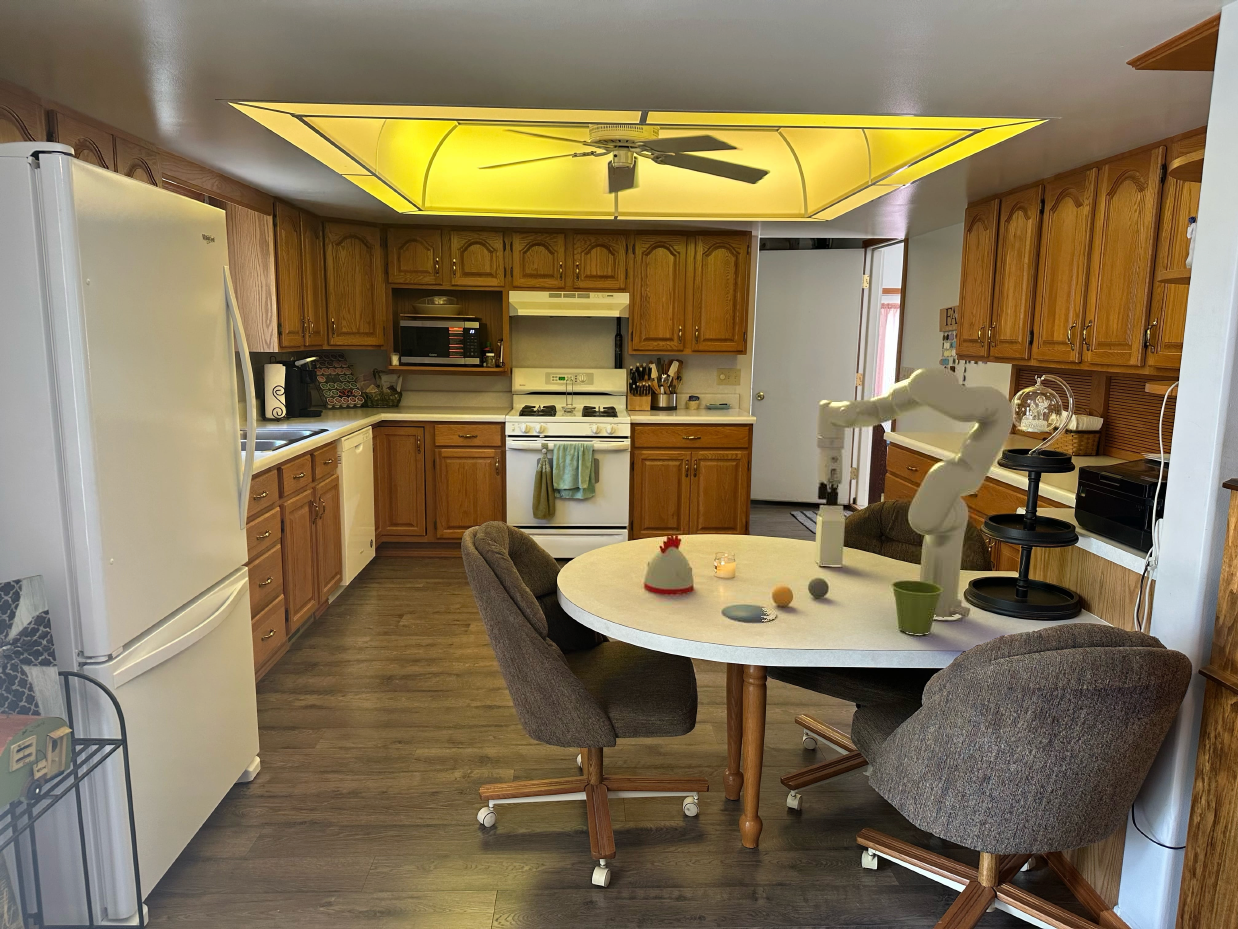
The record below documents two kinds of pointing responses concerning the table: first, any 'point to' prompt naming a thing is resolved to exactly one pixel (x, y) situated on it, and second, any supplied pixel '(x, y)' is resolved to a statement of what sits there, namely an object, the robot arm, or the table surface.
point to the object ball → (782, 595)
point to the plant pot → (915, 605)
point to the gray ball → (818, 587)
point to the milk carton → (830, 535)
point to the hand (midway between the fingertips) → (827, 502)
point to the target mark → (745, 613)
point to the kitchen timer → (669, 570)
